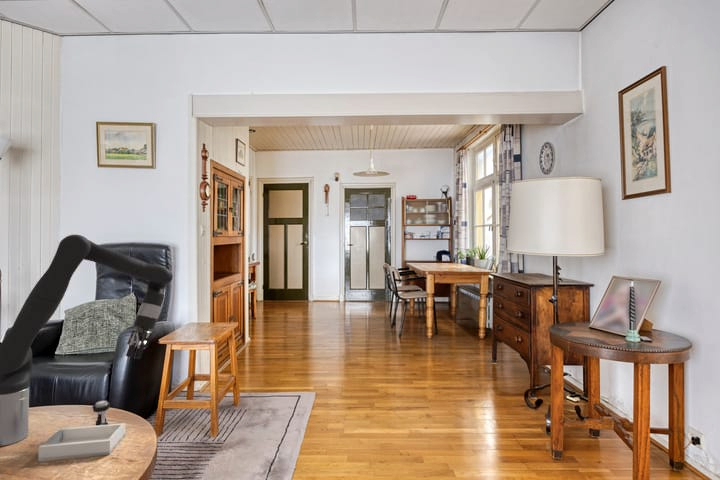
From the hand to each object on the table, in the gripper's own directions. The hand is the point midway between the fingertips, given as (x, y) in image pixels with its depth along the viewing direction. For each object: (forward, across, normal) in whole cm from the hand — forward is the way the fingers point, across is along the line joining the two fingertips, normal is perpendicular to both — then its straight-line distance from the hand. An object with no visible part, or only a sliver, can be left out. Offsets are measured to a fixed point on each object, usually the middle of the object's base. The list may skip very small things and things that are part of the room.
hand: (132, 357), depth 143 cm
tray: (+30, +7, -7) cm, 31 cm away
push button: (+26, -2, -1) cm, 26 cm away
